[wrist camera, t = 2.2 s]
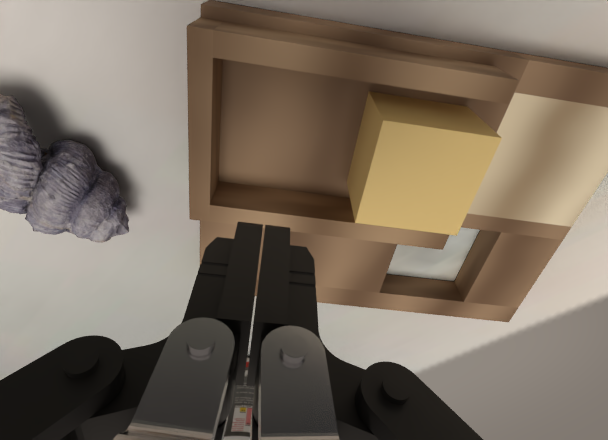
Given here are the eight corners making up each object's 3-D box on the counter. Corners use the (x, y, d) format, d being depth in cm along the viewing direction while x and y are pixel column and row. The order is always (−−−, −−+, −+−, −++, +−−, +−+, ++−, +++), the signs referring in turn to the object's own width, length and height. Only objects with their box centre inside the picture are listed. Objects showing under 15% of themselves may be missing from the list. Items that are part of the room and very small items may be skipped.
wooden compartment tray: (636, 73, 20) (666, 83, 19) (497, 301, 30) (508, 322, 28) (209, 0, 18) (200, 4, 17) (205, 270, 28) (199, 289, 26)
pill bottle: (221, 350, 33) (194, 482, 25) (287, 359, 34) (282, 490, 25) (214, 389, 36) (188, 517, 28) (275, 396, 37) (267, 524, 28)
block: (467, 106, 19) (502, 138, 16) (433, 193, 22) (456, 235, 19) (368, 91, 19) (383, 120, 15) (346, 181, 21) (355, 222, 18)
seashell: (-9, 96, 22) (145, 200, 26) (-86, 168, 20) (95, 269, 24) (-17, 54, 18) (168, 187, 22) (-118, 140, 16) (110, 268, 20)
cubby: (494, 66, 18) (519, 80, 16) (430, 223, 23) (442, 249, 21) (200, 17, 17) (187, 25, 15) (200, 194, 22) (189, 219, 20)
